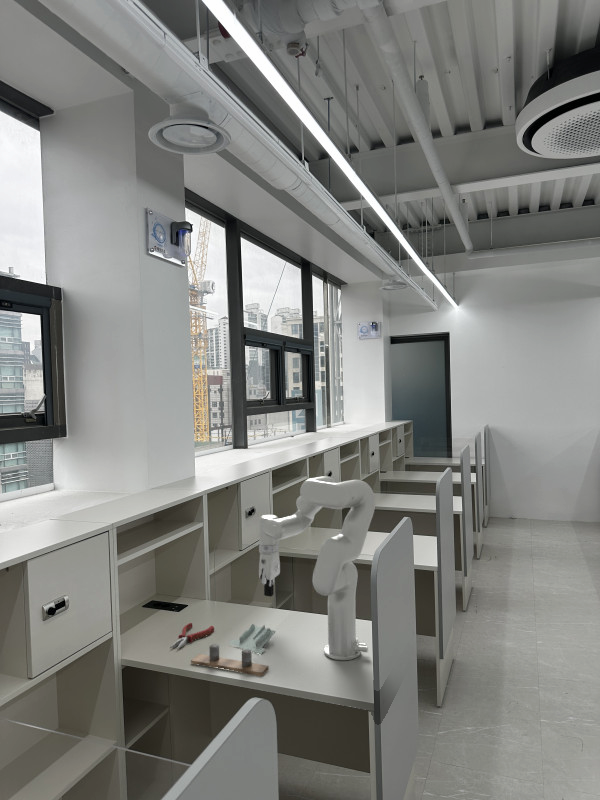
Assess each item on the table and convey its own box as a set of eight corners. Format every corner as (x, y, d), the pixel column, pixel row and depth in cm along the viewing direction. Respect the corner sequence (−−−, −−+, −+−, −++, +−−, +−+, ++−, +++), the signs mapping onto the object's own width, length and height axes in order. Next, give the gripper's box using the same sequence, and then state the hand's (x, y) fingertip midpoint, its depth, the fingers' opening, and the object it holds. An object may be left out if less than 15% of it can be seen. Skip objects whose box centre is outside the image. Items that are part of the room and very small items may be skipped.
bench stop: (268, 669, 180) (268, 652, 181) (262, 676, 176) (261, 659, 176) (199, 657, 190) (198, 641, 190) (191, 663, 185) (190, 647, 185)
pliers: (159, 649, 198) (159, 642, 198) (189, 628, 216) (189, 621, 216) (187, 654, 194) (187, 646, 194) (215, 631, 213) (215, 625, 213)
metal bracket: (248, 618, 210) (280, 626, 201) (251, 631, 211) (283, 640, 203) (224, 642, 198) (257, 652, 190) (227, 656, 199) (261, 666, 191)
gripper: (269, 554, 206) (269, 603, 206) (285, 544, 220) (285, 590, 220) (251, 551, 208) (251, 600, 208) (268, 542, 222) (268, 588, 222)
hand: (268, 595), depth 214 cm, fingers closed
